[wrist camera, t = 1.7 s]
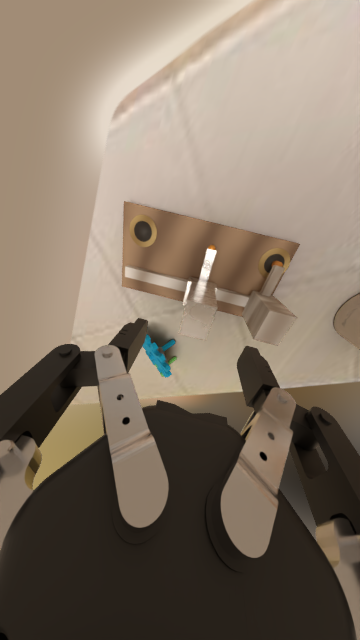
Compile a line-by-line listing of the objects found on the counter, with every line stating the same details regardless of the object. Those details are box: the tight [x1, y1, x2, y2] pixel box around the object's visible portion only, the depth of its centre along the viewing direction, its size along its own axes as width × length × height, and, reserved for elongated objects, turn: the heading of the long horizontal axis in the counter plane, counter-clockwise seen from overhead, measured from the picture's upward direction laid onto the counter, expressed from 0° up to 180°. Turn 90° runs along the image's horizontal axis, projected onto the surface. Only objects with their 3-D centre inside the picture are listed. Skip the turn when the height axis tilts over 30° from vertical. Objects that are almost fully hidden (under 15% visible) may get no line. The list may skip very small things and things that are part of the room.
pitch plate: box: [122, 201, 300, 346], centre depth 21 cm, size 24×12×10 cm, turn 78°
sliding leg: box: [178, 245, 218, 341], centre depth 19 cm, size 4×8×10 cm, turn 168°
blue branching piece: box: [143, 334, 177, 377], centre depth 32 cm, size 11×6×10 cm
